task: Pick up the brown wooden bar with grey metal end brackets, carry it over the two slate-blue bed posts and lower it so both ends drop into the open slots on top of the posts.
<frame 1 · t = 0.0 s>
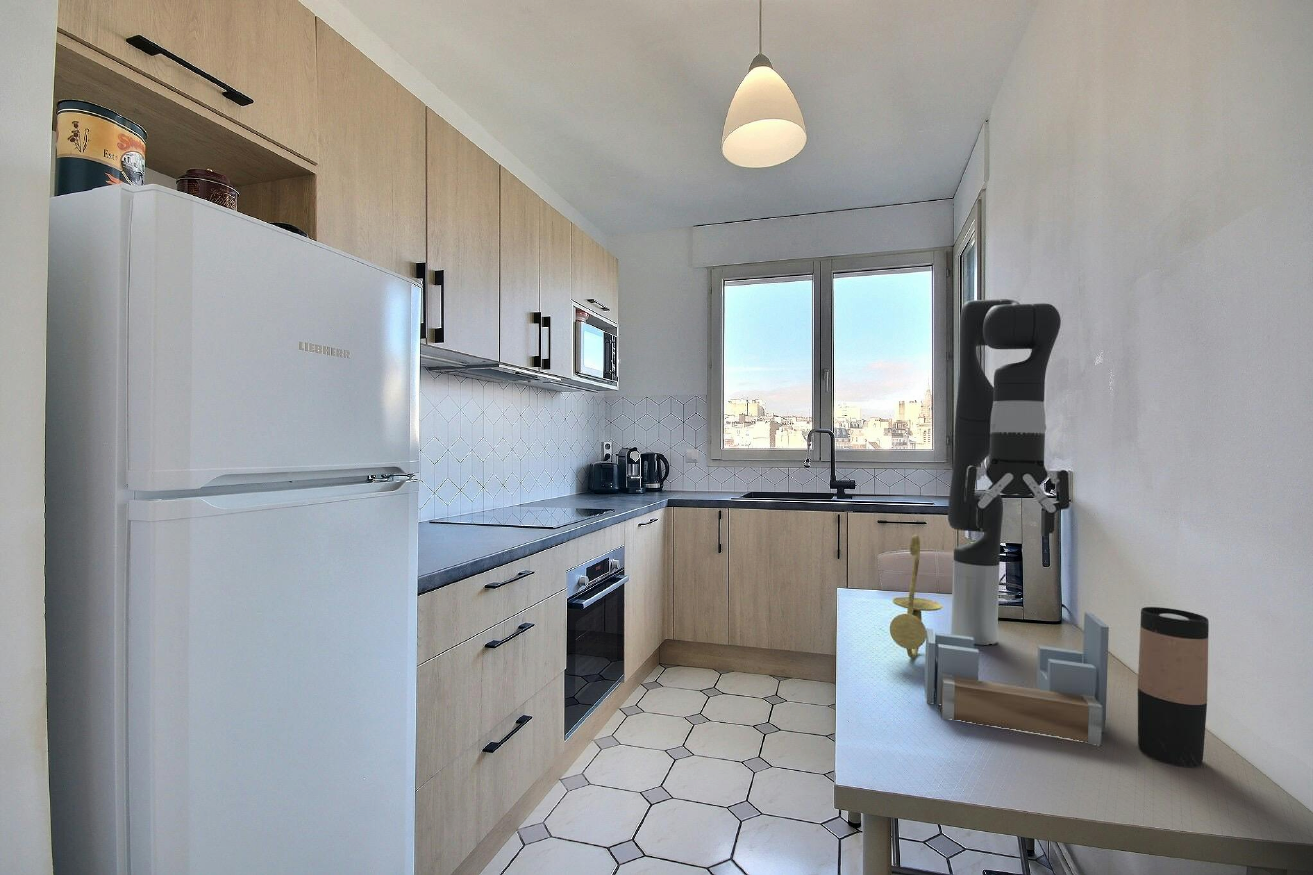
hand: (1013, 533, 100), 29 cm above the table, tool pointing down, fingers open, 8 cm apart
bed posts: (1007, 706, 105), on the table
wall sconce: (913, 658, 128), on the table
brown wooden bar: (1016, 726, 97), on the table
travel mug: (1169, 756, 90), on the table
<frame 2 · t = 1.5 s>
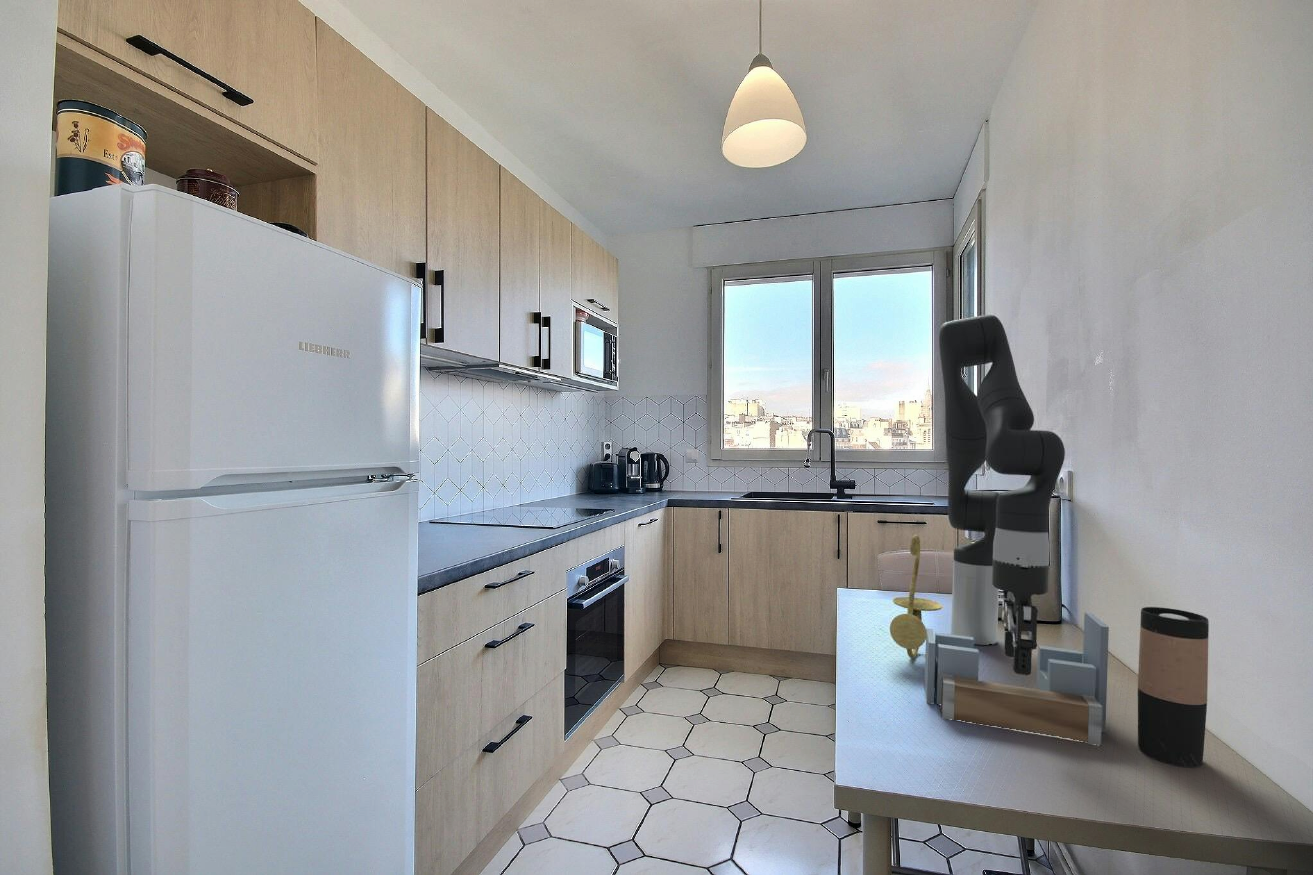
hand: (1016, 664, 97), 9 cm above the table, tool pointing down, fingers open, 8 cm apart
nothing on the table moved.
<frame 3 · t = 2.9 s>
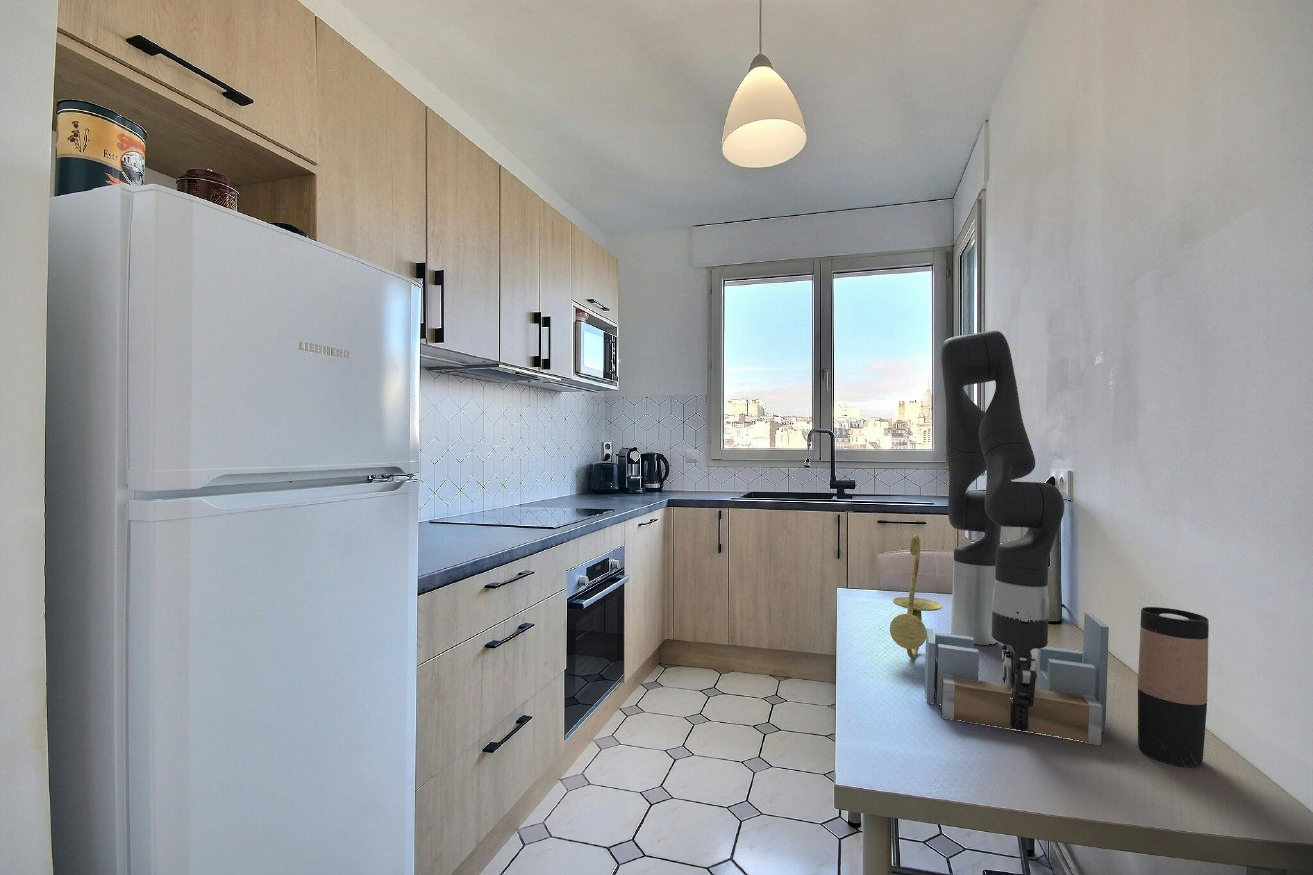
hand: (1016, 722, 97), 1 cm above the table, tool pointing down, fingers closed on brown wooden bar, 4 cm apart
brown wooden bar: (1016, 726, 97), on the table, touching gripper
everything else where it was.
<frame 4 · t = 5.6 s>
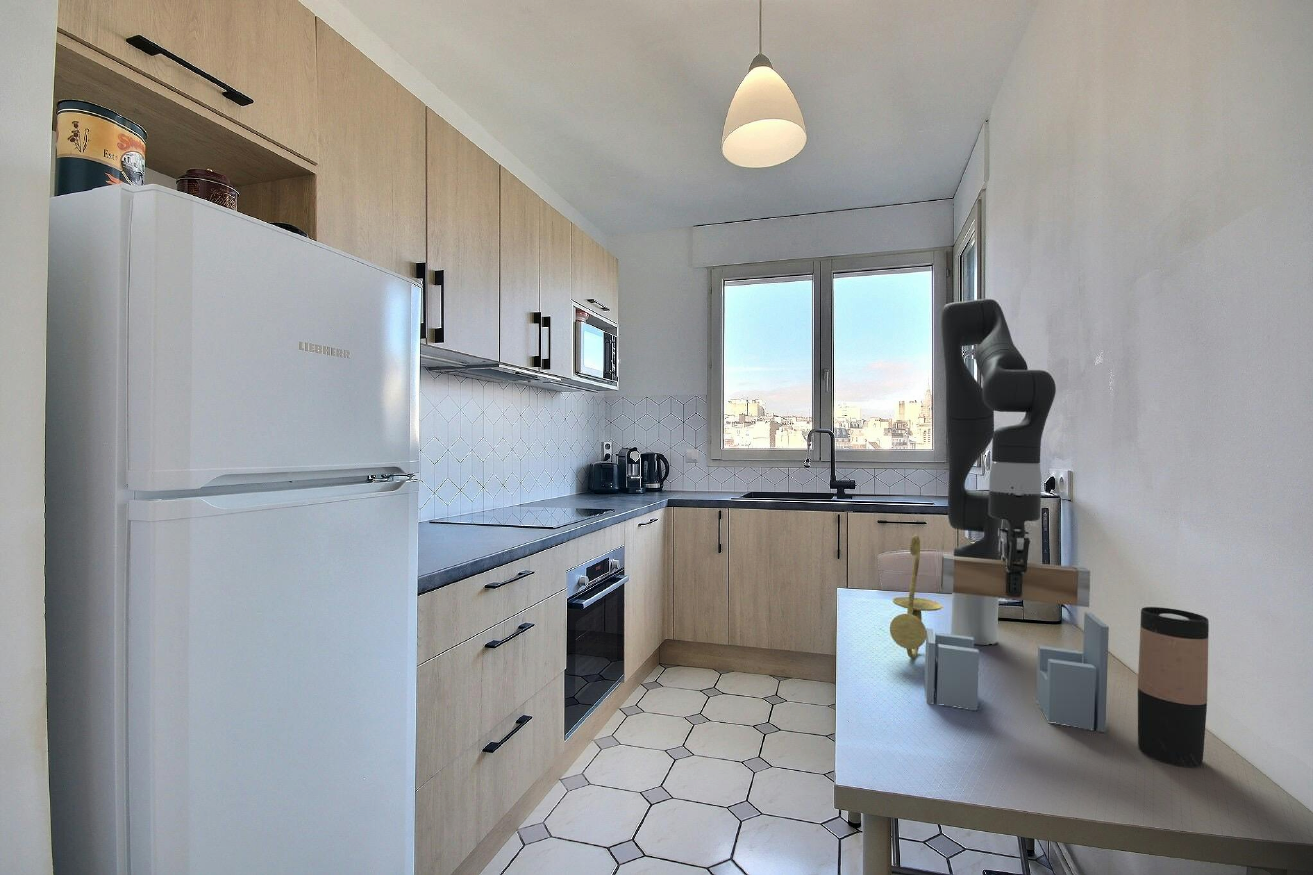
hand: (1011, 592, 105), 19 cm above the table, tool pointing down, fingers closed on brown wooden bar, 4 cm apart
brown wooden bar: (1011, 596, 105), point 18 cm above the table, touching gripper
everything else where it was.
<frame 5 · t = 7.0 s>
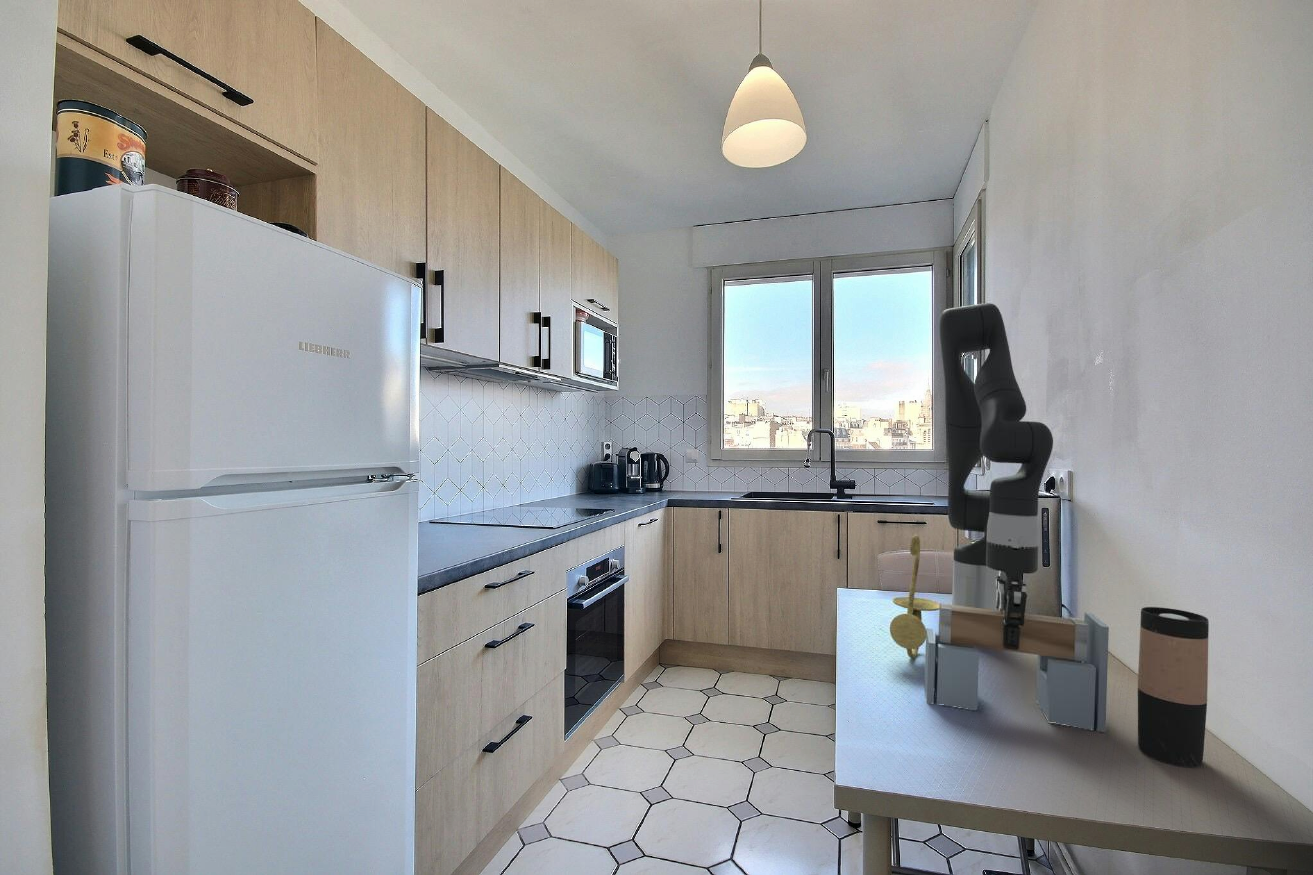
hand: (1008, 644, 105), 10 cm above the table, tool pointing down, fingers closed on brown wooden bar, 4 cm apart
brown wooden bar: (1008, 647, 105), point 10 cm above the table, touching gripper
everything else where it was.
when the fingers open (8 cm above the table, at t = 8.3 s): brown wooden bar drops 1 cm, resting on bed posts.
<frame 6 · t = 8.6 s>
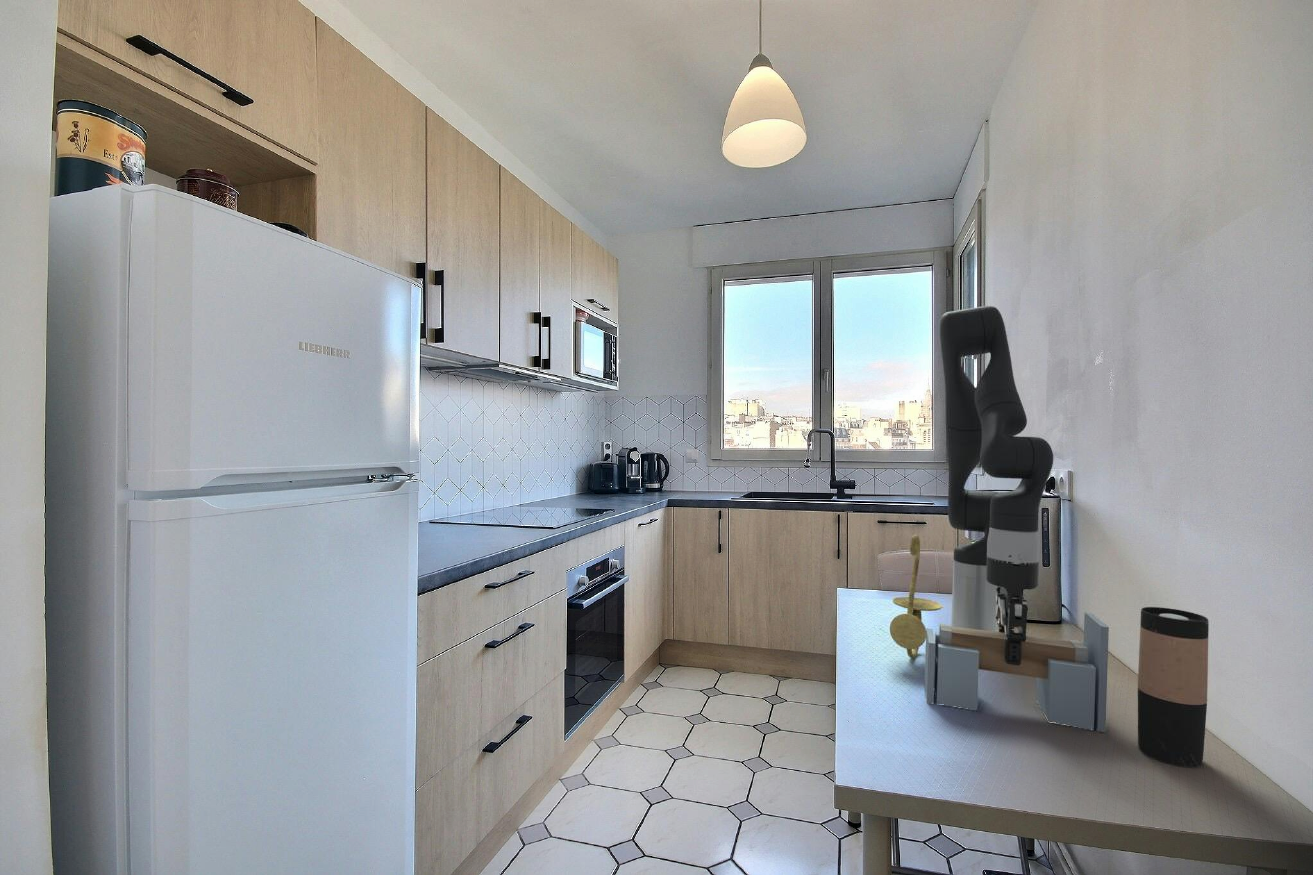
hand: (1009, 657, 105), 8 cm above the table, tool pointing down, fingers open, 6 cm apart
brown wooden bar: (1008, 669, 105), point 6 cm above the table, touching bed posts
everything else where it was.
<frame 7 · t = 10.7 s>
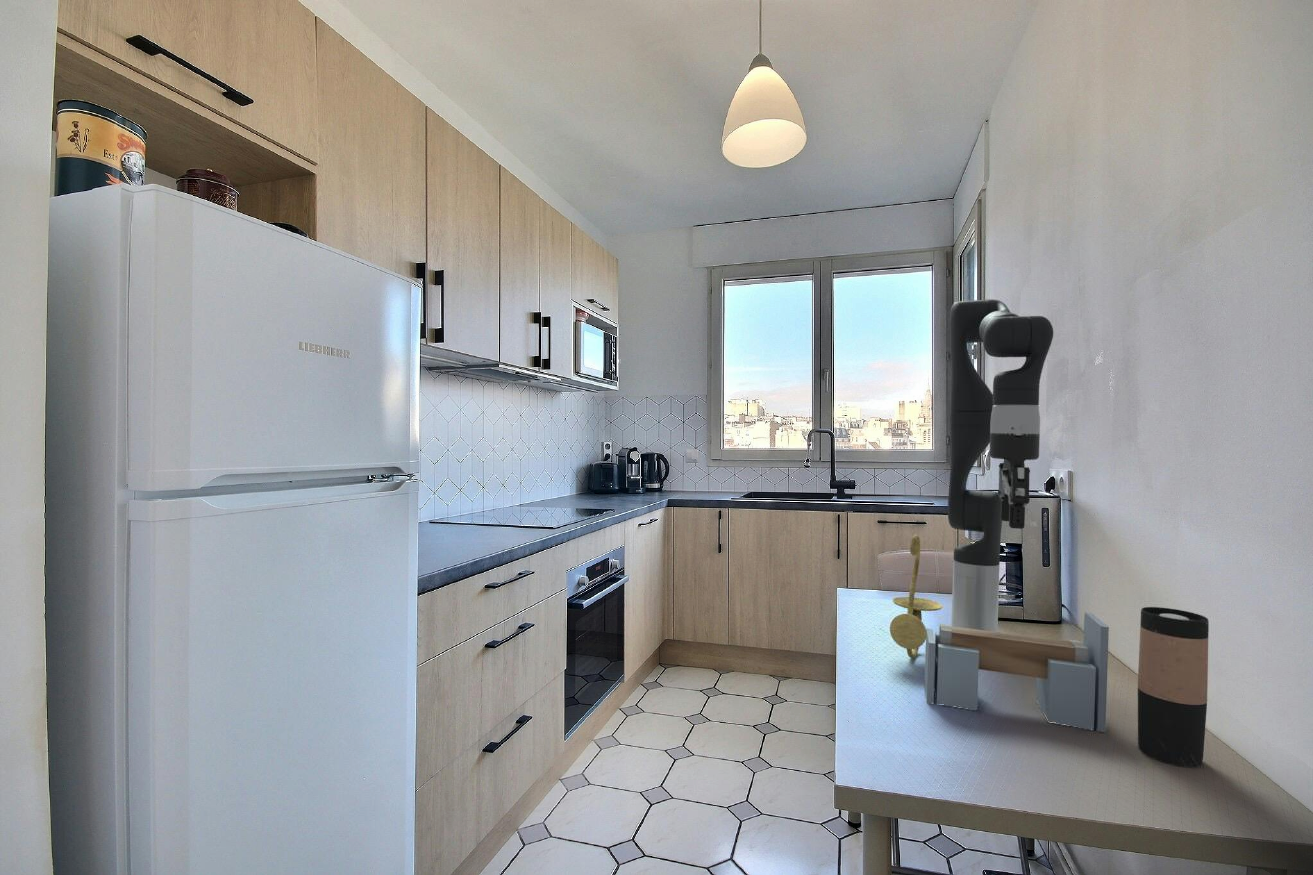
hand: (1012, 524, 111), 29 cm above the table, tool pointing down, fingers open, 8 cm apart
nothing on the table moved.
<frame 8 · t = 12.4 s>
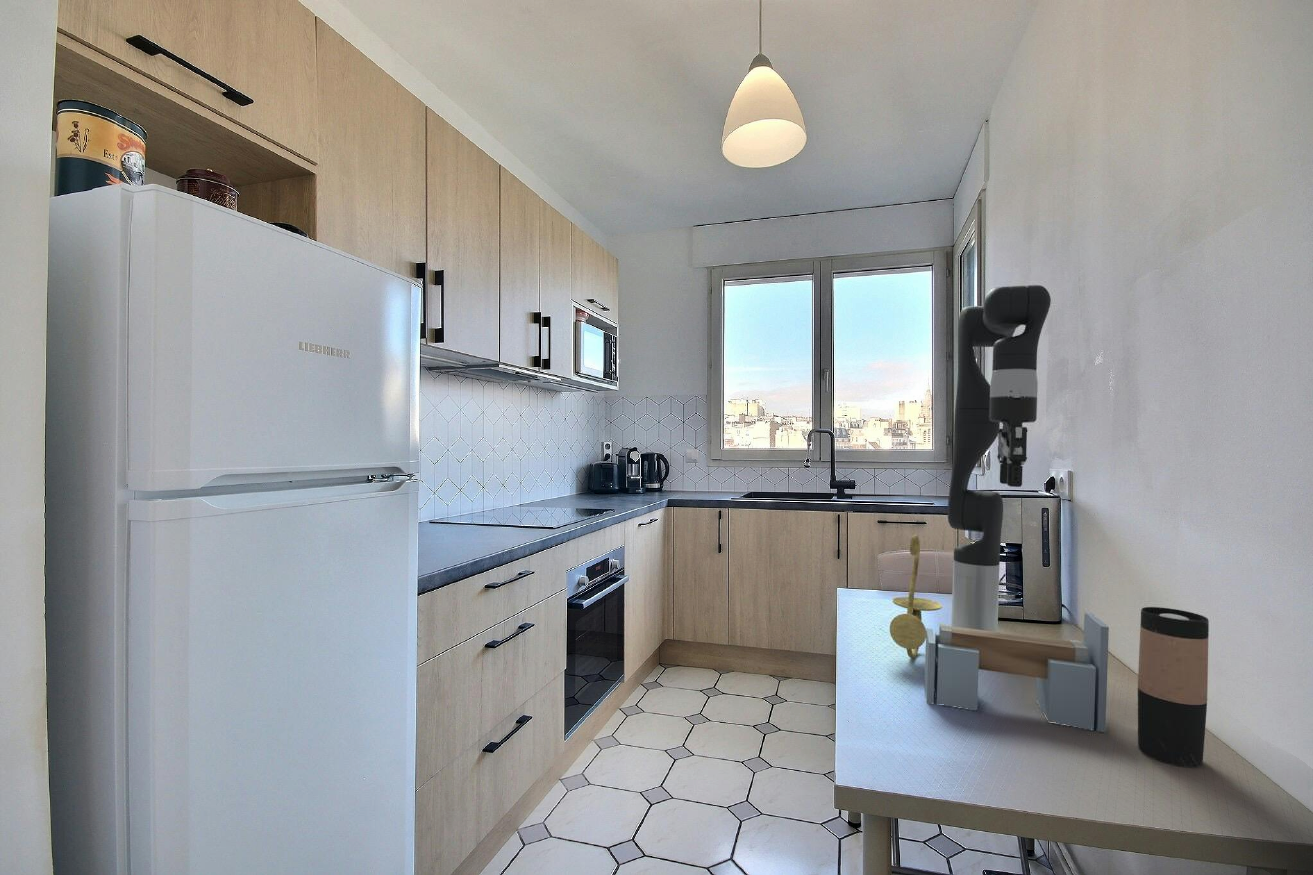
hand: (1010, 485, 115), 36 cm above the table, tool pointing down, fingers open, 8 cm apart
nothing on the table moved.
at the end: brown wooden bar 0.1 cm off-centre on the bed posts, point 6.0 cm above the bed posts's base; brown wooden bar tilted 0°; the gripper is holding nothing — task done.
